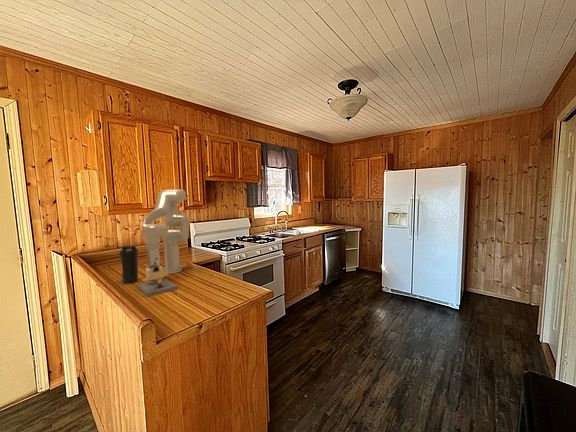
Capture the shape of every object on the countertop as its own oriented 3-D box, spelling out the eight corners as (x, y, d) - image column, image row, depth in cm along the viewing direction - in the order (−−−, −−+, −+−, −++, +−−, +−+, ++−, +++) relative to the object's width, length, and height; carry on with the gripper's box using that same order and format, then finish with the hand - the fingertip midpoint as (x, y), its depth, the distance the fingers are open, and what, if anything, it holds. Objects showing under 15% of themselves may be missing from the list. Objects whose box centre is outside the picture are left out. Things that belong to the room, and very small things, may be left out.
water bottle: (123, 280, 168) (121, 245, 166) (140, 278, 171) (139, 244, 170) (119, 285, 158) (117, 248, 157) (137, 282, 162) (136, 246, 160)
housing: (165, 281, 164) (165, 278, 163) (177, 289, 149) (177, 285, 149) (137, 287, 152) (137, 284, 152) (147, 296, 138) (147, 292, 138)
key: (142, 291, 139) (141, 274, 139) (165, 284, 152) (165, 268, 151) (145, 292, 138) (144, 275, 138) (168, 284, 150) (167, 269, 150)
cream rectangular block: (160, 275, 160) (159, 265, 159) (163, 277, 155) (162, 267, 155) (146, 278, 154) (145, 268, 154) (149, 280, 150) (148, 270, 149)
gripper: (142, 244, 157) (143, 273, 158) (150, 249, 144) (152, 280, 146) (155, 243, 162) (156, 271, 163) (164, 247, 150) (166, 277, 151)
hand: (154, 275), depth 155 cm, fingers closed on cream rectangular block, 6 cm apart
